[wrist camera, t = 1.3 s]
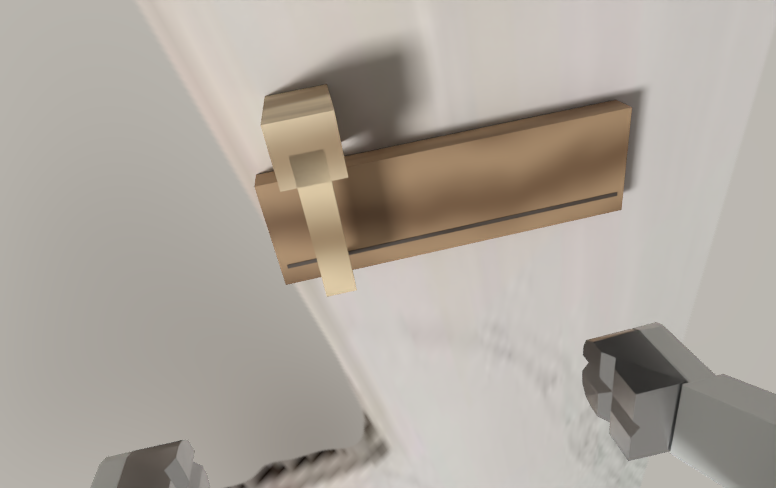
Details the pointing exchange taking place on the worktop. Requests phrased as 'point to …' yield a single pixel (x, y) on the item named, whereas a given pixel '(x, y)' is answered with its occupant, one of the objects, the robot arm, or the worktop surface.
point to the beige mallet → (311, 172)
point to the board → (461, 188)
